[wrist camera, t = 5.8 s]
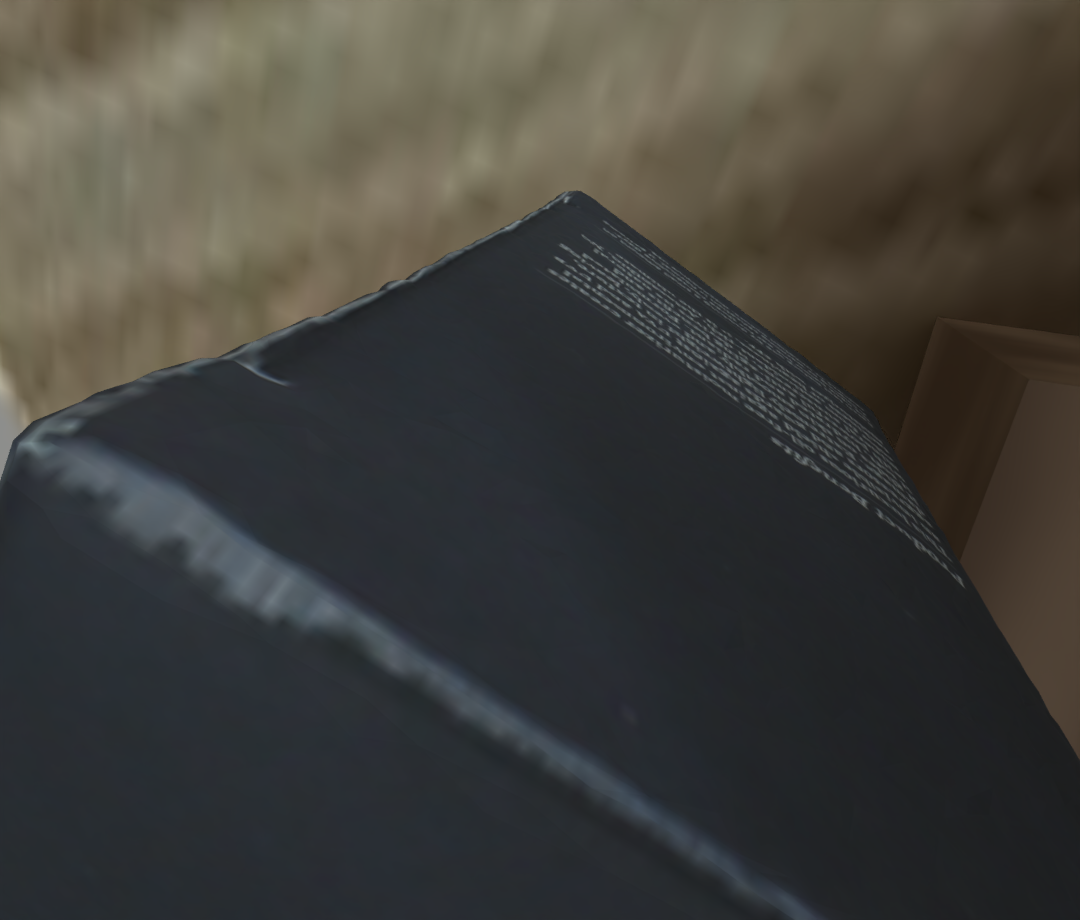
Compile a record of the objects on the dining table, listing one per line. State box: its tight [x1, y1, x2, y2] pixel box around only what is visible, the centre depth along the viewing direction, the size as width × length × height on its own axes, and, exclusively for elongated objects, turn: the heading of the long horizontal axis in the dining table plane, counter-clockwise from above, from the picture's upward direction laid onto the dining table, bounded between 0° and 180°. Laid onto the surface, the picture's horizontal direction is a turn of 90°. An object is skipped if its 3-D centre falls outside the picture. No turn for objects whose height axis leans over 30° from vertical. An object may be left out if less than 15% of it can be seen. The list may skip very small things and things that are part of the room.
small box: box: [0, 191, 1080, 920], centre depth 9 cm, size 11×6×10 cm, turn 145°
